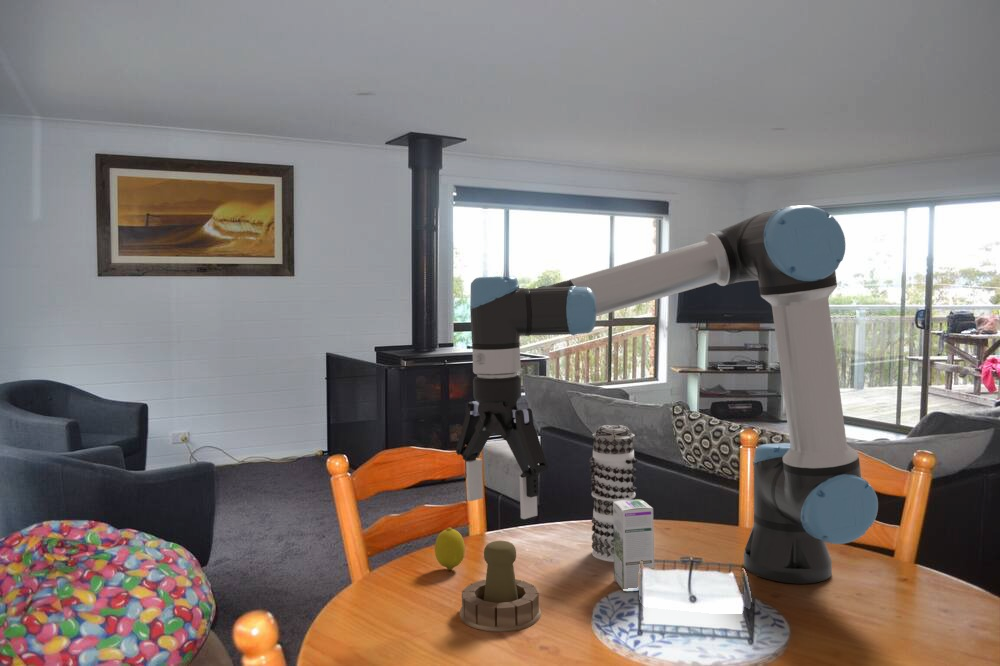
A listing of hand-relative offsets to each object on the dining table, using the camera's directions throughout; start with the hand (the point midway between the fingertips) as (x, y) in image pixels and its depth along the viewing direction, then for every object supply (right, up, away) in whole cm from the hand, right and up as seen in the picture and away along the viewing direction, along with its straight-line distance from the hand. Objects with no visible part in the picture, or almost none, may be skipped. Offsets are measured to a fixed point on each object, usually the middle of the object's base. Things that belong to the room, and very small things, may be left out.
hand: (501, 508), depth 123 cm
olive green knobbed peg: (0, -17, +1) cm, 17 cm away
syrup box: (+23, -16, +12) cm, 31 cm away
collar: (0, -17, +1) cm, 17 cm away
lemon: (-9, -16, +20) cm, 28 cm away
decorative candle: (+22, -15, +28) cm, 39 cm away
